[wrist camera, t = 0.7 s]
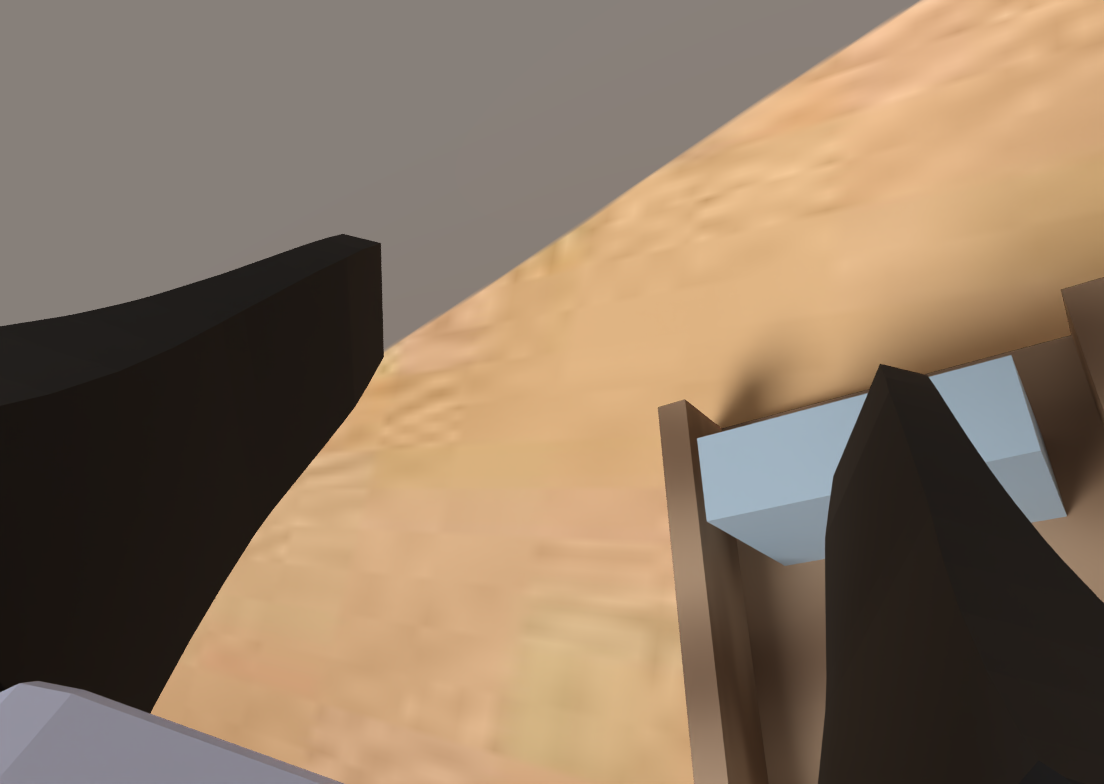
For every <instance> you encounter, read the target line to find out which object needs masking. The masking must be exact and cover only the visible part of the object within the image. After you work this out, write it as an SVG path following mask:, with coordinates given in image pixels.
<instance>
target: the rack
mask: <svg viewBox="0 0 1104 784" xmlns="http://www.w3.org/2000/svg"><path fill="white" fill-rule="evenodd" d="M1061 292H1062V296H1063V301H1064V305H1065V309H1066V314H1067V318H1068V322H1069V327H1070V331H1071V335H1070V336H1067V337H1063V338H1059V339H1055V340H1052V341H1048V342H1044V343H1040V344H1037V345H1033V346H1029V347H1025V348H1022V349H1018V350H1014V351H1010V352H1007V353H1003V354H999V355H995V356H992V357H988V358H984V359H980V360H977V361H973V362H969V363H966V364H962V365H958V366H954V367H951V368H947V369H943V370H939V371H936V372H932V373H928V374H924V375H928V377H930V376H934V375H938V374H942V373H945V372H949V371H953V370H957V369H961V368H964V367H968V366H972V365H976V364H979V363H983V362H987V361H991V360H994V359H998V358H1002V357H1006V356H1010V355H1011V356H1012V358H1013V361H1014V364H1015V366H1016V369H1017V371H1018V374H1019V377H1020V379H1021V382H1022V385H1023V387H1024V390H1025V393H1026V395H1027V398H1028V400H1029V403H1030V406H1031V408H1032V411H1033V414H1034V416H1035V419H1036V421H1037V424H1038V427H1039V429H1040V432H1041V435H1042V438H1043V441H1044V444H1045V447H1046V450H1047V454H1048V457H1049V460H1050V463H1051V466H1052V470H1053V473H1054V476H1055V479H1056V482H1057V486H1058V489H1059V492H1060V495H1061V498H1062V502H1063V505H1064V508H1065V511H1066V514H1067V516H1066V517H1061V518H1055V519H1049V520H1044V521H1038V522H1032V524H1033V526H1034V527H1035V528H1036V529H1037V531H1038V532H1039V533H1040V534H1041V536H1042V537H1043V538H1044V539H1045V540H1046V542H1047V543H1048V544H1049V545H1050V546H1051V547H1052V548H1053V550H1054V551H1055V552H1056V553H1057V554H1058V555H1059V556H1060V557H1061V559H1062V560H1063V561H1064V562H1065V563H1066V564H1067V565H1068V566H1069V567H1070V568H1071V569H1072V570H1073V571H1074V572H1075V573H1076V574H1077V575H1078V577H1079V578H1080V579H1081V580H1082V581H1083V582H1084V583H1085V584H1086V585H1087V586H1088V587H1089V588H1090V589H1091V590H1092V591H1093V592H1094V593H1095V594H1096V595H1097V596H1098V598H1099V599H1100V600H1101V601H1102V602H1103V603H1104V277H1103V278H1099V279H1096V280H1092V281H1089V282H1086V283H1082V284H1079V285H1075V286H1072V287H1068V288H1065V289H1062V290H1061ZM868 392H869V389H868V390H865V391H861V392H857V393H853V394H850V395H846V396H842V397H838V398H835V399H831V400H827V401H823V402H820V403H816V404H812V405H808V406H805V407H801V408H797V409H793V410H790V411H786V412H782V413H779V414H775V415H771V416H767V417H764V418H760V419H756V420H752V421H749V422H745V423H741V424H737V425H734V426H730V427H726V428H720V427H719V426H718V425H717V424H715V423H714V422H713V421H712V420H710V419H709V418H708V417H707V416H705V415H704V414H703V413H701V412H700V411H699V410H698V409H696V408H695V407H694V406H693V405H691V404H690V403H689V402H688V401H686V400H681V401H678V402H675V403H671V404H668V405H664V406H661V407H658V414H659V424H660V435H661V445H662V456H663V466H664V476H665V487H666V497H667V507H668V518H669V528H670V539H671V549H672V559H673V570H674V580H675V591H676V601H677V611H678V622H679V632H680V642H681V653H682V663H683V674H684V684H685V694H686V705H687V715H688V725H689V736H690V746H691V757H692V767H693V777H694V784H818V777H819V767H820V757H821V747H822V737H823V728H824V718H825V702H826V614H825V559H822V560H816V561H810V562H805V563H799V564H793V565H788V566H784V565H782V564H781V563H779V562H777V561H775V560H774V559H772V558H770V557H768V556H767V555H765V554H763V553H761V552H760V551H758V550H756V549H754V548H753V547H751V546H749V545H747V544H746V543H744V542H742V541H740V540H739V539H737V538H735V537H733V536H732V535H730V534H728V533H726V532H725V531H723V530H721V529H719V528H717V527H716V526H714V525H712V524H710V523H709V522H707V519H706V510H705V502H704V493H703V485H702V476H701V468H700V459H699V451H698V442H697V438H701V437H704V436H708V435H712V434H716V433H719V432H723V431H727V430H731V429H734V428H738V427H742V426H746V425H750V424H753V423H757V422H761V421H765V420H768V419H772V418H776V417H780V416H783V415H787V414H791V413H795V412H799V411H802V410H806V409H810V408H814V407H817V406H821V405H825V404H829V403H832V402H836V401H840V400H844V399H848V398H851V397H855V396H859V395H863V394H866V393H868Z"/></svg>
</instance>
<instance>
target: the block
mask: <svg viewBox="0 0 1104 784" xmlns="http://www.w3.org/2000/svg"><path fill="white" fill-rule="evenodd" d="M929 378H930V380H931V381H932V382H933V384H934V385H935V387H936V388H937V390H938V391H939V393H940V395H941V396H942V398H943V399H944V401H945V402H946V404H947V405H948V407H949V409H950V410H951V412H952V413H953V415H954V416H955V418H956V419H957V421H958V422H959V424H960V426H961V427H962V429H963V430H964V432H965V433H966V435H967V436H968V438H969V439H970V441H971V442H972V444H973V445H974V447H975V448H976V450H977V451H978V453H979V454H980V455H981V457H982V458H983V460H984V461H985V463H986V464H987V465H988V467H989V468H990V470H991V471H992V473H993V474H994V475H995V477H996V478H997V479H998V481H999V482H1000V484H1001V485H1002V486H1003V488H1004V489H1005V490H1006V492H1007V493H1008V494H1009V496H1010V497H1011V498H1012V500H1013V501H1014V502H1015V503H1016V505H1017V506H1018V507H1019V508H1020V510H1021V511H1022V512H1023V513H1024V515H1025V516H1026V517H1027V518H1028V520H1029V521H1030V522H1031V523H1032V522H1038V521H1044V520H1049V519H1055V518H1061V517H1066V516H1067V514H1066V511H1065V508H1064V505H1063V502H1062V498H1061V495H1060V492H1059V489H1058V486H1057V482H1056V479H1055V476H1054V473H1053V470H1052V466H1051V463H1050V460H1049V457H1048V454H1047V450H1046V447H1045V444H1044V441H1043V438H1042V435H1041V432H1040V429H1039V427H1038V424H1037V421H1036V419H1035V416H1034V414H1033V411H1032V408H1031V406H1030V403H1029V400H1028V398H1027V395H1026V393H1025V390H1024V387H1023V385H1022V382H1021V379H1020V377H1019V374H1018V371H1017V369H1016V366H1015V364H1014V361H1013V358H1012V356H1011V355H1010V356H1006V357H1002V358H998V359H994V360H991V361H987V362H983V363H979V364H976V365H972V366H968V367H964V368H961V369H957V370H953V371H949V372H945V373H942V374H938V375H934V376H930V377H929ZM867 394H868V393H866V394H863V395H859V396H855V397H851V398H848V399H844V400H840V401H836V402H832V403H829V404H825V405H821V406H817V407H814V408H810V409H806V410H802V411H799V412H795V413H791V414H787V415H783V416H780V417H776V418H772V419H768V420H765V421H761V422H757V423H753V424H750V425H746V426H742V427H738V428H734V429H731V430H727V431H723V432H719V433H716V434H712V435H708V436H704V437H701V438H697V442H698V451H699V459H700V468H701V476H702V485H703V493H704V502H705V510H706V519H707V522H709V523H710V524H712V525H714V526H716V527H717V528H719V529H721V530H723V531H725V532H726V533H728V534H730V535H732V536H733V537H735V538H737V539H739V540H740V541H742V542H744V543H746V544H747V545H749V546H751V547H753V548H754V549H756V550H758V551H760V552H761V553H763V554H765V555H767V556H768V557H770V558H772V559H774V560H775V561H777V562H779V563H781V564H782V565H784V566H788V565H793V564H799V563H805V562H810V561H816V560H822V559H825V534H826V526H827V518H828V510H829V502H830V495H831V488H832V481H833V476H834V473H835V471H836V468H837V466H838V464H839V461H840V459H841V456H842V454H843V452H844V449H845V447H846V444H847V442H848V440H849V437H850V435H851V433H852V430H853V428H854V425H855V423H856V421H857V418H858V416H859V413H860V411H861V409H862V406H863V404H864V401H865V399H866V397H867Z"/></svg>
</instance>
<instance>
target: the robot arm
mask: <svg viewBox="0 0 1104 784" xmlns="http://www.w3.org/2000/svg"><path fill="white" fill-rule="evenodd" d="M381 274H382V273H381V243H378V242H374V241H369V240H366V239H361V238H357V237H353V236H349V235H345V234H341V235H337V236H333V237H329V238H325V239H322V240H319V241H315V242H312V243H309V244H306V245H303V246H300V247H297V248H294V249H292V250H289V251H286V252H283V253H280V254H278V255H275V256H272V257H269V258H266V259H263V260H261V261H258V262H255V263H252V264H249V265H247V266H244V267H241V268H238V269H235V270H232V271H229V272H227V273H224V274H221V275H218V276H214V277H211V278H208V279H205V280H202V281H198V282H195V283H192V284H189V285H186V286H183V287H179V288H176V289H173V290H170V291H167V292H163V293H160V294H157V295H153V296H150V297H146V298H142V299H139V300H135V301H131V302H127V303H123V304H119V305H114V306H110V307H106V308H101V309H97V310H92V311H88V312H83V313H78V314H73V315H68V316H63V317H57V318H50V319H44V320H38V321H32V322H25V323H19V324H13V325H7V326H0V784H344V783H341V782H338V781H335V780H333V779H330V778H327V777H324V776H322V775H319V774H316V773H313V772H310V771H308V770H305V769H302V768H299V767H297V766H294V765H291V764H288V763H285V762H283V761H280V760H277V759H274V758H272V757H269V756H266V755H263V754H261V753H258V752H255V751H252V750H249V749H247V748H244V747H241V746H238V745H236V744H233V743H230V742H227V741H225V740H222V739H219V738H216V737H213V736H211V735H208V734H205V733H202V732H200V731H197V730H194V729H191V728H188V727H186V726H183V725H180V724H177V723H175V722H172V721H169V720H166V719H164V718H161V717H158V716H155V715H152V714H150V713H151V711H152V709H153V707H154V705H155V703H156V701H157V700H158V698H159V696H160V694H161V692H162V690H163V689H164V687H165V685H166V683H167V681H168V679H169V678H170V676H171V674H172V672H173V670H174V668H175V667H176V665H177V663H178V661H179V659H180V658H181V656H182V654H183V652H184V650H185V648H186V647H187V645H188V643H189V641H190V639H191V638H192V636H193V634H194V633H195V631H196V629H197V628H198V626H199V624H200V622H201V621H202V619H203V617H204V616H205V614H206V612H207V611H208V609H209V607H210V606H211V604H212V602H213V600H214V599H215V597H216V595H217V594H218V592H219V590H220V589H221V587H222V585H223V584H224V582H225V580H226V579H227V577H228V576H229V574H230V573H231V571H232V569H233V568H234V566H235V565H236V563H237V562H238V560H239V558H240V557H241V555H242V554H243V552H244V551H245V549H246V547H247V546H248V544H249V543H250V541H251V539H252V538H253V536H254V535H255V533H256V532H257V530H258V529H259V528H260V526H261V525H262V524H263V522H264V521H265V520H266V518H267V517H268V515H269V514H270V513H271V511H272V510H273V509H274V507H275V506H276V505H277V504H278V503H279V501H280V500H281V499H282V498H283V496H284V495H285V494H286V493H287V491H288V490H289V489H290V488H291V486H292V485H293V484H294V483H295V482H296V480H297V479H298V478H299V477H300V475H301V474H302V473H303V472H304V470H305V469H306V468H307V467H308V465H309V464H310V463H311V462H312V461H313V459H314V458H315V457H316V456H317V454H318V453H319V452H320V451H321V449H322V448H323V447H324V446H325V444H326V443H327V442H328V441H329V439H330V438H331V437H332V436H333V434H334V433H335V432H336V431H337V429H338V428H339V427H340V425H341V424H342V423H343V422H344V420H345V419H346V418H347V417H348V415H349V414H350V413H351V411H352V410H353V409H354V407H355V406H356V404H357V403H358V401H359V399H360V398H361V396H362V394H363V393H364V391H365V389H366V388H367V386H368V384H369V382H370V381H371V379H372V377H373V375H374V373H375V372H376V370H377V368H378V366H379V364H380V363H381V361H382V359H383V357H384V350H383V311H382V275H381ZM825 614H826V702H825V718H824V728H823V737H822V747H821V757H820V767H819V777H818V784H1104V603H1103V602H1102V601H1101V600H1100V599H1099V598H1098V596H1097V595H1096V594H1095V593H1094V592H1093V591H1092V590H1091V589H1090V588H1089V587H1088V586H1087V585H1086V584H1085V583H1084V582H1083V581H1082V580H1081V579H1080V578H1079V577H1078V575H1077V574H1076V573H1075V572H1074V571H1073V570H1072V569H1071V568H1070V567H1069V566H1068V565H1067V564H1066V563H1065V562H1064V561H1063V560H1062V559H1061V557H1060V556H1059V555H1058V554H1057V553H1056V552H1055V551H1054V550H1053V548H1052V547H1051V546H1050V545H1049V544H1048V543H1047V542H1046V540H1045V539H1044V538H1043V537H1042V536H1041V534H1040V533H1039V532H1038V531H1037V529H1036V528H1035V527H1034V526H1033V524H1032V523H1031V522H1030V521H1029V520H1028V518H1027V517H1026V516H1025V515H1024V513H1023V512H1022V511H1021V510H1020V508H1019V507H1018V506H1017V505H1016V503H1015V502H1014V501H1013V500H1012V498H1011V497H1010V496H1009V494H1008V493H1007V492H1006V490H1005V489H1004V488H1003V486H1002V485H1001V484H1000V482H999V481H998V479H997V478H996V477H995V475H994V474H993V473H992V471H991V470H990V468H989V467H988V465H987V464H986V463H985V461H984V460H983V458H982V457H981V455H980V454H979V453H978V451H977V450H976V448H975V447H974V445H973V444H972V442H971V441H970V439H969V438H968V436H967V435H966V433H965V432H964V430H963V429H962V427H961V426H960V424H959V422H958V421H957V419H956V418H955V416H954V415H953V413H952V412H951V410H950V409H949V407H948V405H947V404H946V402H945V401H944V399H943V398H942V396H941V395H940V393H939V391H938V390H937V388H936V387H935V385H934V384H933V382H932V381H931V380H930V378H929V377H928V375H924V374H920V373H915V372H911V371H907V370H903V369H899V368H895V367H891V366H886V365H882V364H880V365H879V368H878V370H877V373H876V375H875V377H874V380H873V382H872V385H871V387H870V389H869V392H868V394H867V397H866V399H865V401H864V404H863V406H862V409H861V411H860V413H859V416H858V418H857V421H856V423H855V425H854V428H853V430H852V433H851V435H850V437H849V440H848V442H847V444H846V447H845V449H844V452H843V454H842V456H841V459H840V461H839V464H838V466H837V468H836V471H835V473H834V476H833V481H832V488H831V495H830V502H829V510H828V518H827V526H826V534H825Z"/></svg>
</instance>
